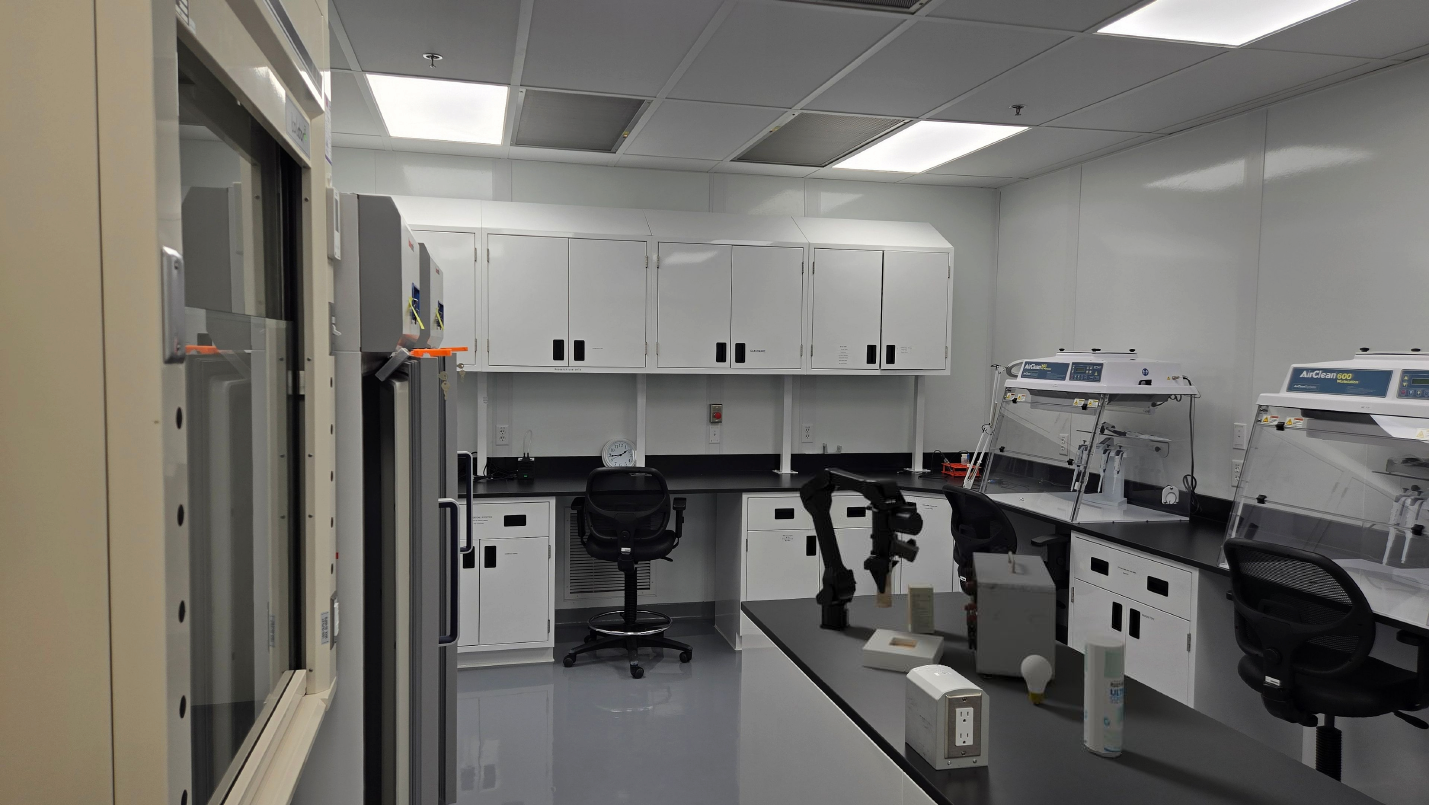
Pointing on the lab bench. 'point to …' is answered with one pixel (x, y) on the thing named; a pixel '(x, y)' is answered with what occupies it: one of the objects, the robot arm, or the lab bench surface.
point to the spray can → (1103, 693)
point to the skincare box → (920, 608)
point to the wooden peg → (885, 595)
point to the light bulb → (1036, 676)
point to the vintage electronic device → (1010, 612)
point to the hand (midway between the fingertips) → (884, 591)
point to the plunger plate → (904, 646)
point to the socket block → (901, 650)
